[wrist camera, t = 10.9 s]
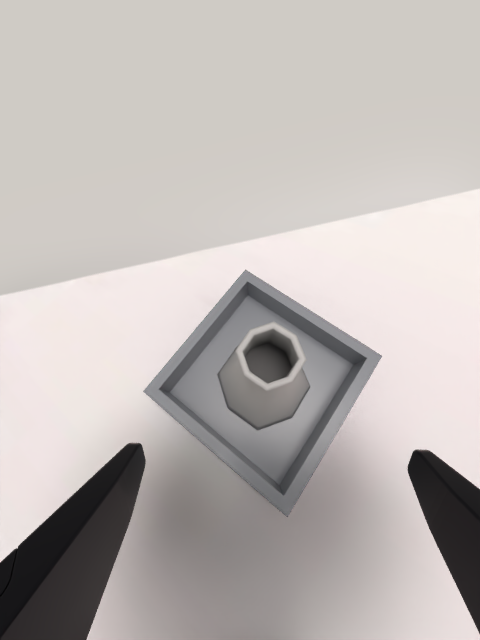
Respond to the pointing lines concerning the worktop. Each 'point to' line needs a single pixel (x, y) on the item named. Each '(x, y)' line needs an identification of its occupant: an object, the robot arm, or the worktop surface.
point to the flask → (265, 376)
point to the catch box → (282, 438)
